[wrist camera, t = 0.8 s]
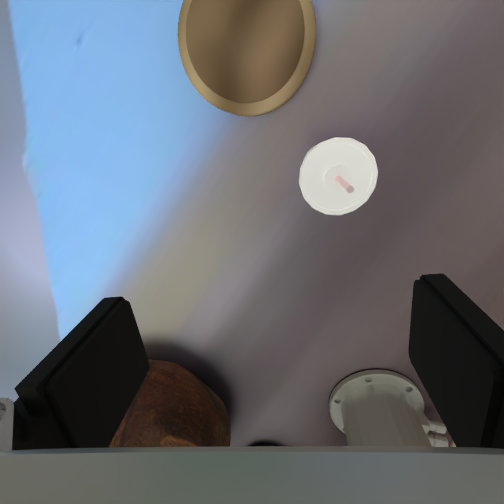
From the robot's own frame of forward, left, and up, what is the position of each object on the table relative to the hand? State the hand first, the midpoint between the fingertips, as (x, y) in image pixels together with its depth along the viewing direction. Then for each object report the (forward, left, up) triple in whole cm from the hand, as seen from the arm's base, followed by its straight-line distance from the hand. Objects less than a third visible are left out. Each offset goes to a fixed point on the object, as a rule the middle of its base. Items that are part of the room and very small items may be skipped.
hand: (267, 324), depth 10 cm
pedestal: (+6, -12, -26) cm, 29 cm away
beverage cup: (-4, -3, -26) cm, 27 cm away
